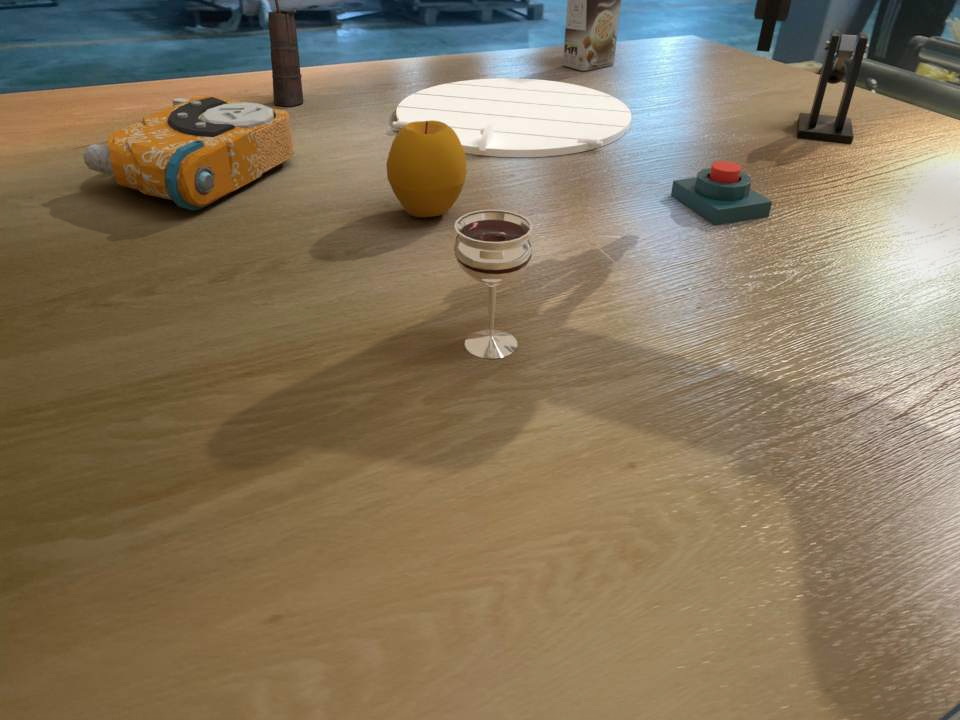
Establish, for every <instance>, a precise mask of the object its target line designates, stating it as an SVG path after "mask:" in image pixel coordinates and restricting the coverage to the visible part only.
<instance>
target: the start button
mask: <svg viewBox="0 0 960 720" xmlns="http://www.w3.org/2000/svg"><path fill="white" fill-rule="evenodd" d="M710 168H711V170H710V175H709V179H711V180H712V181H716V182H719V183H729V184H731V183H737V182H738V181H739V176H740V172H742V166H741V165H740V164H738V163H737V162H732V161H726V160H721V161H719V160H718V161H713V162H712V163H711V165H710Z"/></svg>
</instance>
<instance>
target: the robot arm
mask: <svg viewBox="0 0 960 720" xmlns="http://www.w3.org/2000/svg"><path fill="white" fill-rule="evenodd" d="M791 4H792V0H756V5H755V7H754V8H755V9H754V14H753V15H754V16H753V17H754V19H755V20H762V22H761V27H760V28H761V29H760V32H759V36H758V41H757V47H756V52H765V53H769V52H770V51H771V48H772V42H773V38H774V35H775V29H776V24H777V22H786V21H787V19H788V18H789V13H790V8H791Z"/></svg>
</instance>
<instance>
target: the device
mask: <svg viewBox="0 0 960 720" xmlns="http://www.w3.org/2000/svg"><path fill="white" fill-rule="evenodd" d="M107 143H108V144H107V145H103V144H97V143H96V144H95V143H93V144H90V145H88V146H87V147H86V149H85V150H84V153H83V162H84V164H85V165H86V166H87V168H88V169H89V170H92V171H95V172H97V173H102V174H109V175H112V176H114V178H115V180H116V184H117V185H119V186H121V187H125V188H129V189H133V190H138V191H139V192H140V193H142V194H143V195H147V196H151V197H155V198H160V199H164V200H168V201H169V200H170V201H173V202H174V204H175V205H176V206H177V207H179V208H182V209H184V210H185V209H186V210H189V211H199V210H202V209H205V208H206V207H208V206H209V205H211V204H213V203H215V202H216V201H217V200H220V199H221V198H223V197H225V196H227V195H228V194H231V193H232V192H235V191H237V190H238V189H240V188H242V187H244V186H246V185H248V184H250V183H251V182H253V181H255V180H257V179H259V178H261V177H262V175H263V174H265V173H267V172H269V171H271V170H273V169H274V168H276V167H278V166H279V165H281V164H283V163H285V162H286V161H288V160H291V159H292V158H293V157H294V154H295V152H294V151H295V150H294V144H293V137H292V130H291V122H290V115H289V113H288V112H287V111H286V110H284V109H278V108H272V107H270V106H267V105H265V104H261V103H256V102H247V101H241V100H234V99H228V98H223V97H217V96H211V95H203V94H202V95H197V96H193V97H191V98H190V99H187V98H180V97H177V98H174V99H172V106H169V107H167V108H165V109H162V110H159V111H156V112H153V113H151V114H148V115H145V116H143V117H142V120H141V121H139V122H136V123H133V124H130V125H128V126H125V127H123V128H119V129H117V130H115V131H114V132H110V133H109V132H108V139H107Z"/></svg>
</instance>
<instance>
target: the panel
mask: <svg viewBox="0 0 960 720" xmlns="http://www.w3.org/2000/svg"><path fill="white" fill-rule="evenodd" d="M710 170H711V167H709V168H703V169H701V170H700V171H698V172H697V173H696V177H695V176H694V177H688V178H682V179H675V180H672V185H671V192H670V196H671V197H672V198H673V199H675V200H676V201H678V202H679V203H681V204H682V205H684V206H685V207H686V208H688V209H689V210H691V211H692V212H694V213H695V214H696V215H698V216H699V217H701V218H702V219H704V220H705V221H707V222H708V223H710V224H711V225H712V226H715V227H716V226H717V227H718V226H722V225H729V224H734V223H741V222H746V221H754V220H759V219H764V218H769V217H770V213H771V210H772V204H773V200H771V199H769V198H768V197H766V196H764V195H763V194H761V193H759V192H757V191H755V190H754V189H752V188H751V186H752V179H751V176H750V175H748V174H747V173H745V172H743V171H741V172H740V176H739V181H738V182H737V183H731V184H729V183H719V182H716V181H712V180H711V179H709V175H710Z"/></svg>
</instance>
